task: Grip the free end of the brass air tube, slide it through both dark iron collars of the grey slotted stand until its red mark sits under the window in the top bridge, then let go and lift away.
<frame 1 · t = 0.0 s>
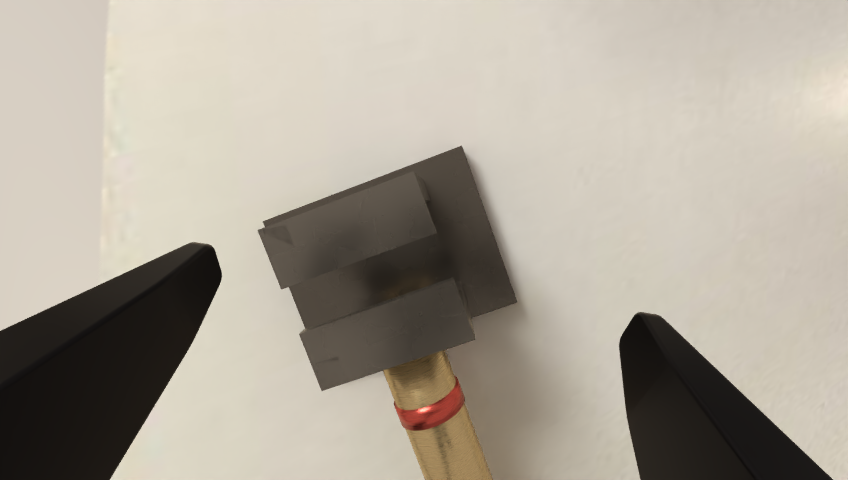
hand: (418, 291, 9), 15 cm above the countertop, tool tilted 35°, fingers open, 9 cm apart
grey slotted stand: (391, 258, 24), on the countertop
air tube: (456, 471, 20), point 4 cm above the countertop, slide at 0.0 cm
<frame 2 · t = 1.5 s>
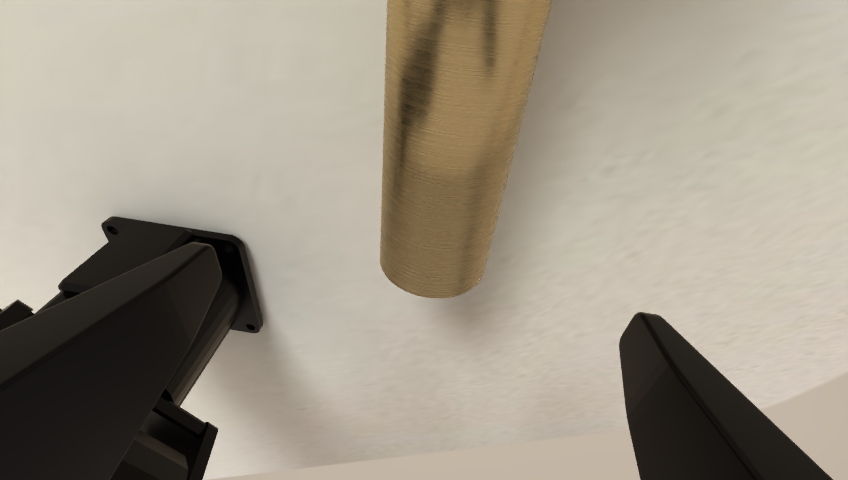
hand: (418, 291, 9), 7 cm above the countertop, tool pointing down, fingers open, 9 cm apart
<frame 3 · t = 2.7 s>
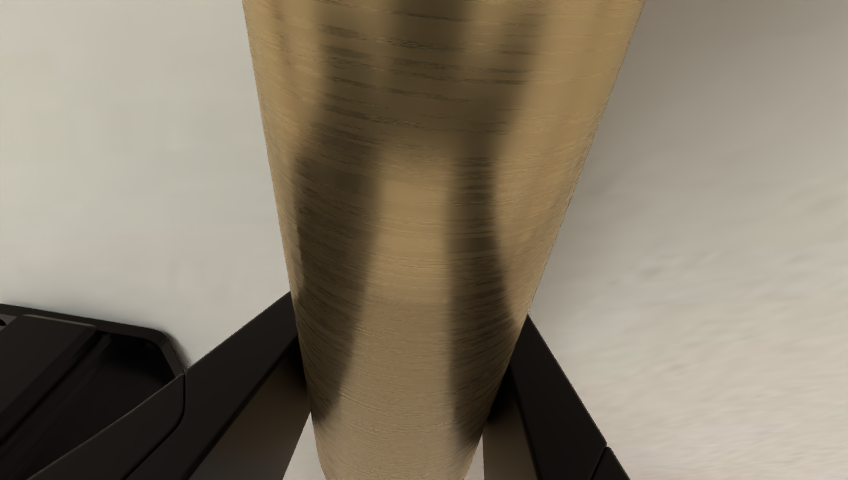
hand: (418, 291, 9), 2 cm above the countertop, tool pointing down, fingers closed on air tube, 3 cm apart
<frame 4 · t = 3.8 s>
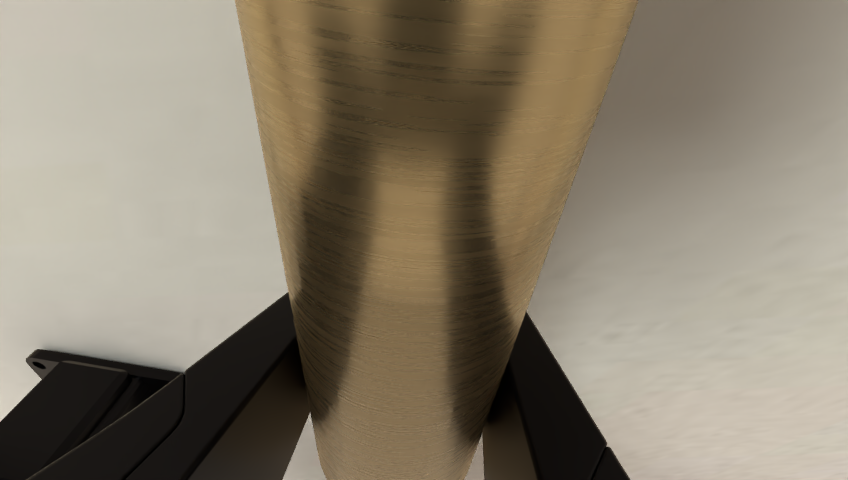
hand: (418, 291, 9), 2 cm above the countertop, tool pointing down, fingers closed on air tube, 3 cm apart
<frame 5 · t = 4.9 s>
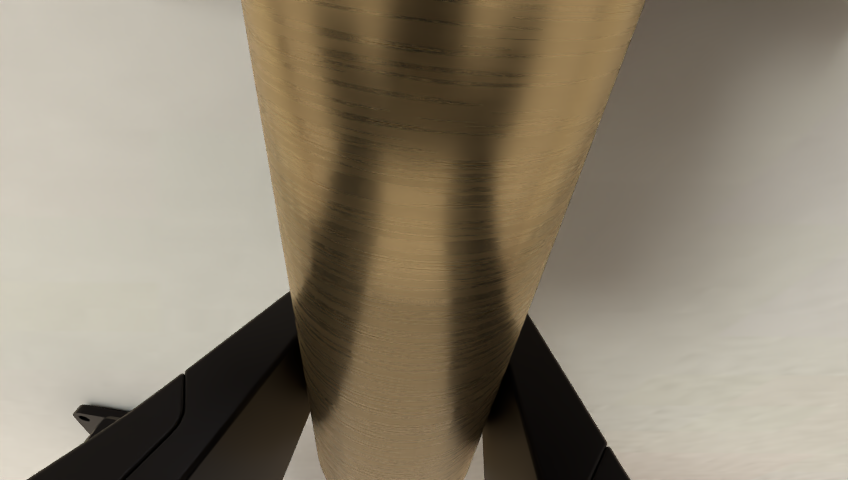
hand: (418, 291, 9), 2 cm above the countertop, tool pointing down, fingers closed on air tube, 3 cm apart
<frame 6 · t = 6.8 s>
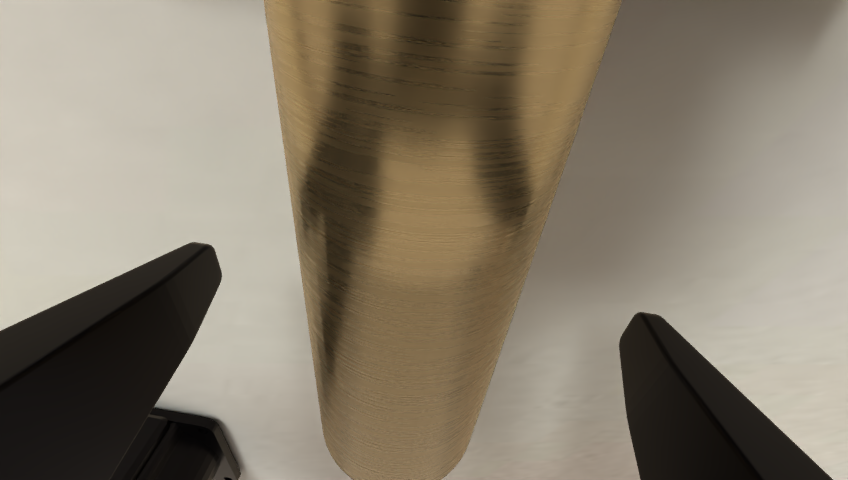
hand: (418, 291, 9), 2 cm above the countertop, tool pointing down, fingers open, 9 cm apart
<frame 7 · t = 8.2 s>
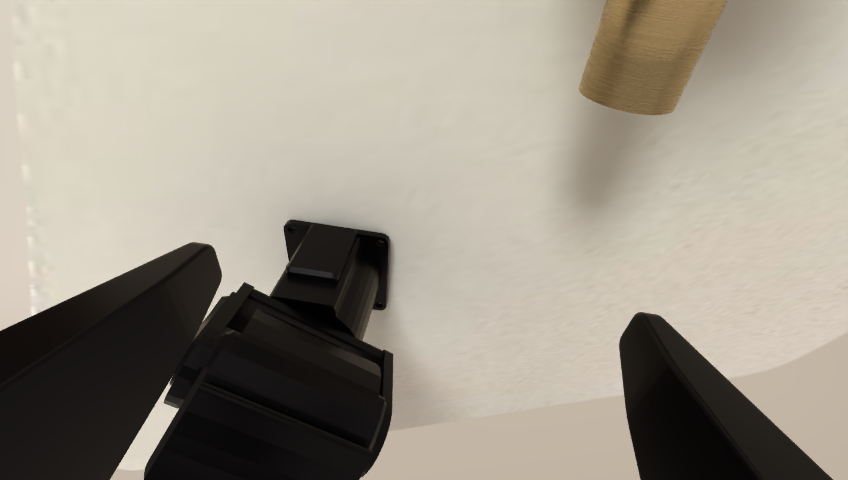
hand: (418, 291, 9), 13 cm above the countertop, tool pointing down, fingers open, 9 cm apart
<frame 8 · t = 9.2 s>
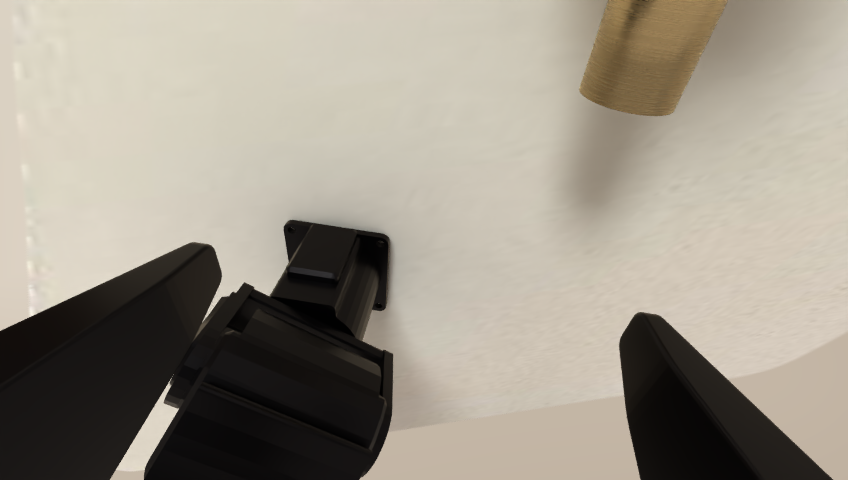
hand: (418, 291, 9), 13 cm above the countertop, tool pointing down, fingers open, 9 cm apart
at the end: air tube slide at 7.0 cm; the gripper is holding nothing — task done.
